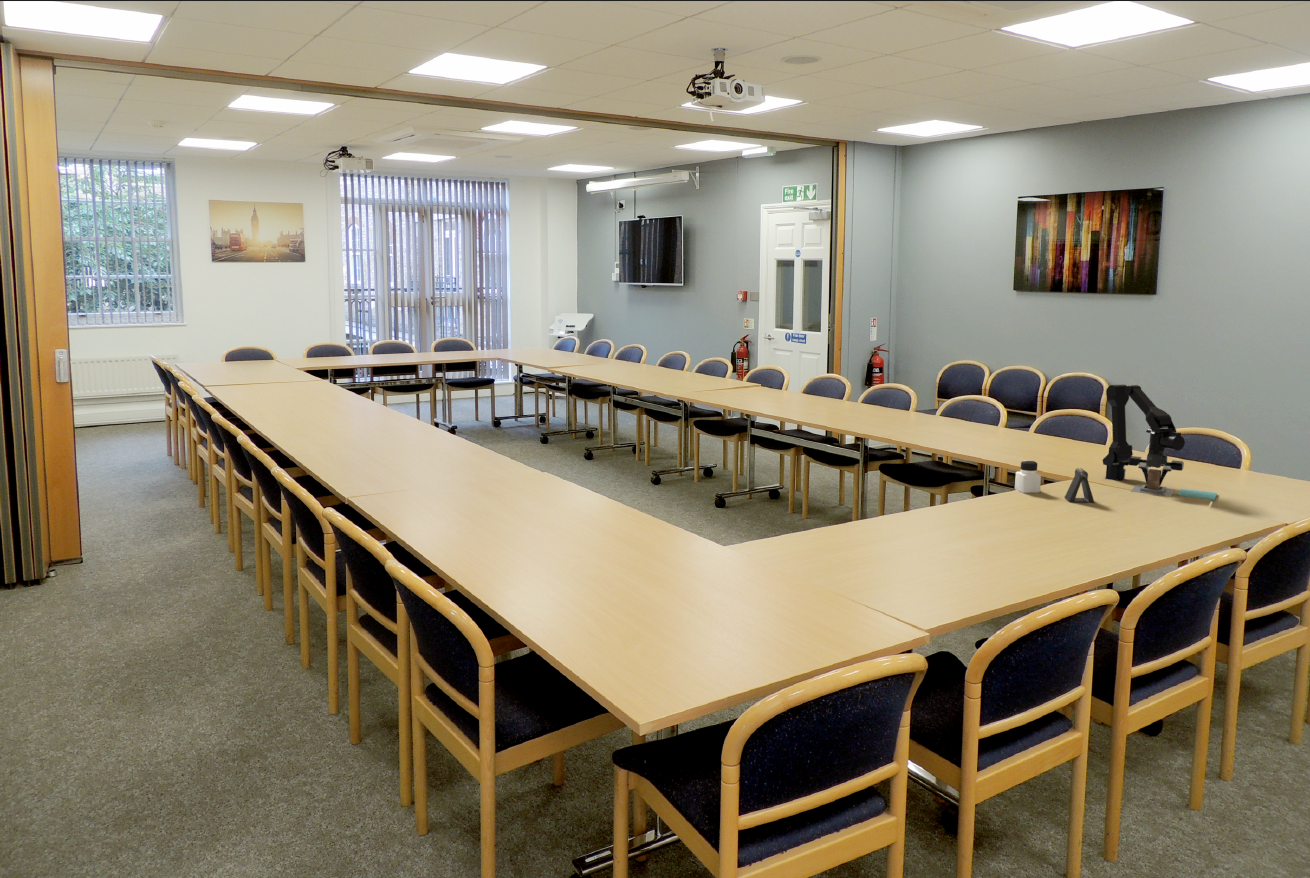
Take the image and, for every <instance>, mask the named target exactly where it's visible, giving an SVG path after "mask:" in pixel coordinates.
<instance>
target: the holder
mask: <svg viewBox="0 0 1310 878" xmlns="http://www.w3.org/2000/svg"><path fill="white" fill-rule="evenodd" d="M1175 491H1176V488H1172V487H1171V488H1170V487H1169V488H1168V487H1166V486H1162V485H1160V490H1155V489H1147V484H1135V485H1134V486H1133V487H1132V489H1131V490H1130V492H1133V493H1139V494H1149V495H1157V496H1166V497H1172V496H1173V494H1174V493H1175Z"/></svg>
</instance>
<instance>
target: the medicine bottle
mask: <svg viewBox="0 0 1310 878" xmlns="http://www.w3.org/2000/svg"><path fill="white" fill-rule="evenodd" d="M1041 480H1042V475H1041V474H1040V473H1038V462H1036V461H1035V460H1029V459H1028V460H1023V461H1021V462H1020V470H1019V471H1015V480H1014V489H1015V490H1016V491H1018V492H1020V491H1021V492H1020V493H1022V494H1031V493H1032V494H1033V493H1035V494H1036V493H1041V483H1042V481H1041Z"/></svg>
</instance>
